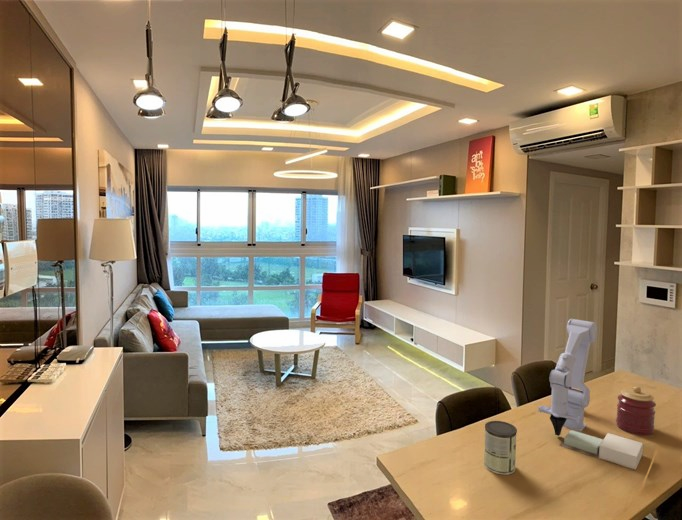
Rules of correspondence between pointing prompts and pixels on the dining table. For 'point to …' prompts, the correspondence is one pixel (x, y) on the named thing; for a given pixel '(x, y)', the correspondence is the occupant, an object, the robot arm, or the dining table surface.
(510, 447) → the coffee can
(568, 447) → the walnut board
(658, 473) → the dining table surface
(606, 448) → the white rounded block
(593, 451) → the sage tile
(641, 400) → the canister
